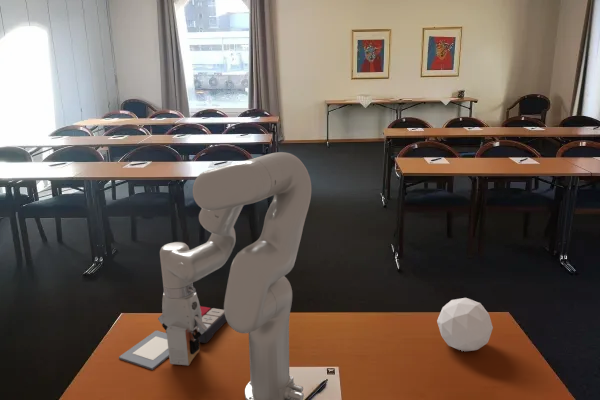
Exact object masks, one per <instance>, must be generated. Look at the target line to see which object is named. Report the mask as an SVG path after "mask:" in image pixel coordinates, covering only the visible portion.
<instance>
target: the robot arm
mask: <svg viewBox="0 0 600 400" xmlns="http://www.w3.org/2000/svg"><path fill="white" fill-rule="evenodd" d="M192 196H193V199H194V201H195V204H196V205H197V206H198V207H200V208H201V209H200V211H199V213H198V221H199V223H200V225H201V226H202V227H203V229H205V230H206V231H208V232H209V233H211V234H210V236H209V238H208V240H207V241H206V242H205V243H203V244H201V245H198V246H196V247H194V248H191V249H190V247H189V245H187V244H186V243H185V242H183V241H174V242H170V243H166V244H164V245H163V246H161V247H160V250H159V258H160V267H161V276H162V278H161V279H162V287H163V294H162V299H161V301H162V302H161V305H162V307H161V309H162V314H161V315H159V317H158V318H157V320H158V321H159V323H160V324H161V326H162V328H163V329H164V330H165V333H166V334H167V332H166V329H167V328H168V327H169V326H170V325H171V326H176V327H180V328H185V329H187V332H189V336H190V338H191V340H190V352H191V354H194V353H195V352H196V351H198V350H199V348H200V349H201V347H200V346H201V345H199V344H200V342H199V337H200V336H201V335H202V334H203V333H204V332H205V331H206V330H207V327H206V326H205V325H204V324H203V322H202V315H201V309H200V306H201V305H200V301H199V298H198V294H197V291H196V289H197V288H195V287H194V284H193V283H195V282H197V281H199V280H201V279H202V278H205V277H206V276H208V275H210V274H211V273H214V272H215V271H217V270H219V269H220V268H222V267H223V266H224V265H225V264H226V262H227V261H228V260H229V258H230V256H231V254H232V252H233V250H234V248H235V245H236V240H237V239H236V230H235V228H234V227H235V225H236V222H237V221H238V217H239V216H240V213H241V211H242V210H243V207H244V206H246V205H251V204H254V203H258V202H260V201H263V200H265V199H268V198H271V197H272V196H273V199H272V201H271V203H270V204H269V207H268V209H267V212H266V213H265V217H264V221H263V227H262V231H261V234H260V236H259V238H258V239H257V240H256V241H254V242H253V243H251V244H249V245H247V246H245V247H244V248H242V249H241V250H240V251H239V252H237V254H236V255H235V257H234V258H233V259H232V262H231V265H230V269H229V274H228V279H227V285H226V289H225V295H224V299H223V301H224V302H223V310H224V314H225V318H226V320H227V321H226V322H227V325H229V327H230V328H231V329H232V330H234V331H235V332H237V333H239V334H248V349H249V351H248V352H249V374H250V381H248V383H247V384H246V386H245V388H244V398H245V400H304V397H305V395H304V393H303V391H304V386H301V385H299V384H298V385H297V384H295V383H294V376H293V375H290V315H291V310H292V309H291V308H292V305H293V304H292V302H293V290H292V286H291V283H290V281H289V279H288V278H287V277H286V275H288V274H289V273H290V272H291V271H292V270H293V268H294V266H295V262H296V260H297V255H298V252H299V247H300V245H301V244H300V242H301V239H302V234H303V229H304V226H305V221H306V218H307V214H308V212H309V207H310V203H311V198H312V181H311V177H310V174H309V172H308V169H307V168H306V166H305V165H304V163H303V162H302V160H300V158H299V157H297V156H296V155H294V154H293V153H289V152H285V151H284V152H283V151H279V152H272V153H267V154H264V155H261V156H258V157H255V158H250V159H246V160H243V161H239V162H237V163H234V164H231V163H230V164H226V165H222V166H219V167H216V168H215V167H213V168H212V169H211V168H210V169H208V170H205V171H203V172H201V173H200V174H199V175H197V177H196V178H195V180H194V182H193V185H192ZM197 327H198V328H199V330H198V328H197ZM193 331H194V332H195V335H194V334H193Z"/></svg>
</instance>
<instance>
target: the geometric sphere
mask: <svg viewBox="0 0 600 400" xmlns="http://www.w3.org/2000/svg"><path fill="white" fill-rule="evenodd" d="M436 322H437V325H438V328H439V329H438V330H439V332H440V335H441V337H442V339H443V340H444V342H445V343H446V344H447V346H448V347H452V348H453V349H456V350H458V351H460V350H461V351H460V352H463V351H464V352H471V351H472V352H473V351H477V350H480V349H481V348H482V347H484V346H485V345H487V344H488V343H489V340H490V338H491V334H492V332H493V329H494V327H493V323H492V320H491V317H490V313H489V312H488V311H487V310H486V309H485V307H484V305H482V303H481V302H478V301H475V300H473V299H471V298H467V297H463V298H456V299H451V300H450V301H449V302H447V303H446V304H445V305H444V306H442V308H441V311H440V312H439V315H438V318H437V320H436Z"/></svg>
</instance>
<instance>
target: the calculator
mask: <svg viewBox="0 0 600 400" xmlns="http://www.w3.org/2000/svg"><path fill="white" fill-rule="evenodd" d="M200 309H201V315H202V322H203V324H204V325H205V326H206V327H207V330H206V331H205V332H204V333H203V334H202V335H201V336H200V337H199V343H200V344H201V343H202V344H207V343H209V341H210V340H211V339H212V338H213V336H214V335H215V333H217V332H218V331H219V330H220V328H222V326H224V324H226V322H227V320H226V318H225V314H224V309H220V308H215V307H213V308H211V307H207V306H203V305H202V306H201V305H200ZM198 330H199V328H198Z"/></svg>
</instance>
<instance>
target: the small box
mask: <svg viewBox="0 0 600 400" xmlns="http://www.w3.org/2000/svg"><path fill="white" fill-rule="evenodd" d="M197 328H198V327H197ZM166 332H167V341H168V350H169V357H168V358H169V364H171V365H178V366H179V365H180V366H181V365H182V366H190V364H191V362H192V361H193V359H194V358H195V357H196V356H197V354H198V353H199V352H200V350H201V347H200V348H199V350H198V351H196V352H195V353H194V354H191V352H190V340H191V338H190V336H189V332H187V329H185V328H180V327H176V326H171V325H170V326H169V327H168V328H167V329H166V330H165V333H166ZM193 334H194V335H195V332H194V331H193ZM200 344H201V343H199V345H200ZM200 346H201V345H200Z"/></svg>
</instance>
